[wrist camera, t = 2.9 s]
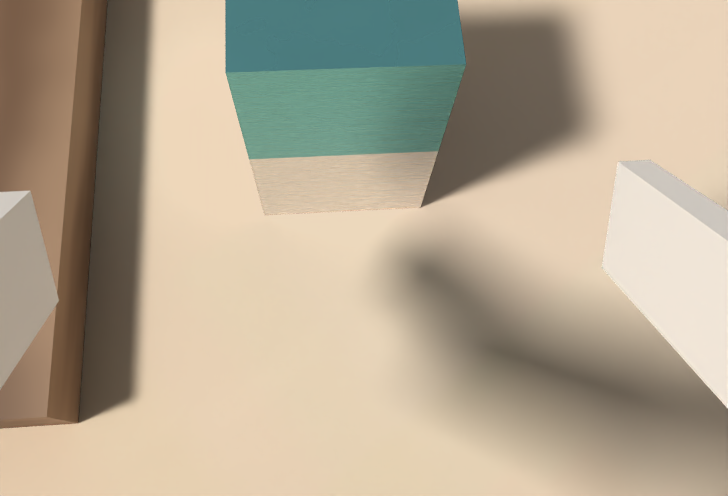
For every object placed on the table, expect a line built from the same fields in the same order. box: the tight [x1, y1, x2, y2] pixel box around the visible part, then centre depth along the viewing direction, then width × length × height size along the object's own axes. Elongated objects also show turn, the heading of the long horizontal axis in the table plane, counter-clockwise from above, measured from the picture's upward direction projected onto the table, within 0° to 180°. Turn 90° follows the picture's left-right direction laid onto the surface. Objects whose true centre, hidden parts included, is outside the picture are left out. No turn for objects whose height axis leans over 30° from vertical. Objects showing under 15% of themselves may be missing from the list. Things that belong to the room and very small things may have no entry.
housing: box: [226, 0, 466, 215], centre depth 25 cm, size 7×7×11 cm
